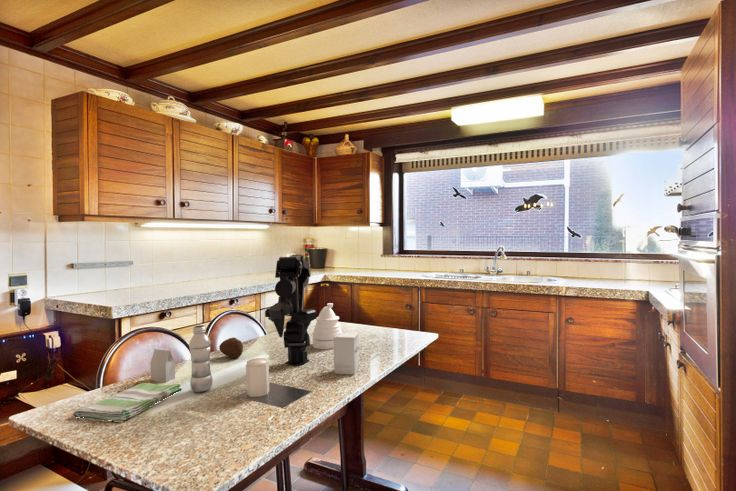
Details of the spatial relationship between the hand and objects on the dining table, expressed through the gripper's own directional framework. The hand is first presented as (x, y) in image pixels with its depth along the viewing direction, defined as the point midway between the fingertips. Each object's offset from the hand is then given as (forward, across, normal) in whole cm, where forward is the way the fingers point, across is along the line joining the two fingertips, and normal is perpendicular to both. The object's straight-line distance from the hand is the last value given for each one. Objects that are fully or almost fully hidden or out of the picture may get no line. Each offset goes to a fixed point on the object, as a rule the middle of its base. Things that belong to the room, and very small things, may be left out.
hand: (291, 338), depth 141 cm
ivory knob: (+11, +4, -20) cm, 23 cm away
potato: (+12, -34, +4) cm, 36 cm away
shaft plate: (+12, +9, -18) cm, 24 cm away
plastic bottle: (+12, -15, -25) cm, 32 cm away
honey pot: (+12, -10, +35) cm, 38 cm away
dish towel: (+13, -26, -41) cm, 50 cm away
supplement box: (+12, +16, +10) cm, 23 cm away
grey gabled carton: (+12, -36, -24) cm, 45 cm away
